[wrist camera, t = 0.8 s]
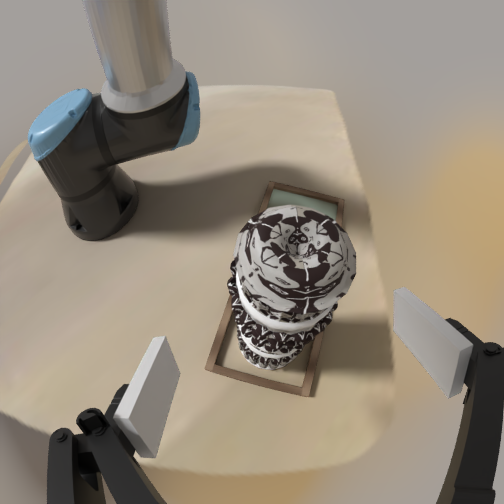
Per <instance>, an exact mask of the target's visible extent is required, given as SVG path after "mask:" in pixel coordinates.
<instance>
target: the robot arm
mask: <svg viewBox="0 0 504 504" xmlns="http://www.w3.org/2000/svg"><path fill="white" fill-rule="evenodd" d="M82 1H83V5H84V9H85V12H86V16H87V19H88V23H89V26H90V29H91V33H92V36H93V39H94V42H95V45H96V48H97V51H98V54H99V57H100V60H101V63H102V66H103V69H104V72H105V75H106V78H107V80H106V81H105V83H104V85H103V87H102V91H101V94H100V95H97V96H94V97H92V93H91V92H90V91H89V90H88V89H83V88H82V89H77V90H74V91H71V92H69V93H67V94H65V95H63V96H61V97H60V98H58V99H57V100H55V101H54V102H53V103H51V104H50V105H49V106H48V107H47V108H46V109H45V110H44V111H42V112H41V114H40V115H39V116H38V117H37V118H36V120H35V121H34V122H33V124H32V126H31V128H30V130H29V133H28V143H29V145H30V147H31V149H32V152H33V154H34V158H35V160H36V161H38V163H39V165H40V166H41V168H42V170H43V171H44V173H45V175H46V176H47V178H48V179H49V181H50V183H51V184H52V186H53V187H54V189H55V190H56V192H57V193H58V195H59V197H60V198H61V202H62V207H63V212H64V216H65V220H66V223H67V225H68V226H69V228H70V229H71V231H72V232H73V233H74V234H75V235H76V236H77V237H79V238H81V239H84V240H99V239H102V238H105V237H108V236H110V235H112V234H114V233H115V232H117V231H118V230H120V229H121V228H122V227H123V226H124V225H125V224H126V223H127V222H128V221H129V220H130V218H131V217H132V216H133V214H134V212H135V210H136V207H137V204H138V192H137V189H136V187H135V184H134V182H133V181H132V179H131V178H130V177H129V176H128V175H127V174H126V173H125V172H124V171H123V170H122V169H121V168H120V167H119V166H118V165H117V164H119V163H123V162H126V161H130V160H134V159H137V158H141V157H145V156H149V155H153V154H157V153H161V152H165V151H170V150H171V151H172V150H175V149H176V148H178V147H182V146H185V145H189V144H191V143H192V142H194V141H195V139H196V138H197V136H198V133H199V128H200V108H199V103H200V98H199V90H198V85H197V81H196V78H195V76H194V74H193V73H191V72H186V71H185V69H184V67H183V65H182V64H181V63H180V62H178V61H177V60H175V59H173V58H172V51H171V42H170V33H169V23H168V12H167V0H82ZM393 326H394V327H393V331H394V332H395V333H396V334H397V336H398V337H399V338H400V339H401V340H402V342H403V343H404V344H405V345H406V346H407V348H408V349H409V350H410V351H411V352H412V354H413V355H414V356H415V357H416V359H417V360H418V361H419V362H420V363H421V365H422V366H423V367H424V368H425V370H426V371H427V372H428V373H429V375H430V376H431V377H432V378H433V380H434V381H435V382H436V383H437V385H438V386H439V387H440V389H441V390H442V391H443V392H444V394H445V395H446V396H447V398H451V397H453V396H455V395H457V394H459V393H460V392H461V391H462V387H463V384H464V383H465V384H466V386H467V387H468V389H467V392H466V395H465V398H464V402H463V404H464V410H463V415H462V419H461V424H460V429H459V433H458V437H457V442H456V445H455V449H454V452H453V456H452V459H451V463H450V466H449V469H448V472H447V475H446V478H445V481H444V484H443V487H442V490H441V492H440V495H439V498H438V500H437V502H436V504H494V500H495V490H493V489H492V486H493V481H494V477H495V472H496V466H497V461H498V455H499V448H500V441H501V433H502V422H503V408H504V348H502V347H501V346H500V345H498V344H496V343H493V342H488V343H483V342H482V341H481V340H480V339H479V338H477V337H476V336H475V335H474V334H473V333H472V332H470V331H468V329H467V328H466V327H464V326H463V325H462V324H461V323H459V322H458V321H456V320H453V319H451V318H449V319H446V320H445V319H443V318H442V317H441V316H440V315H439V314H437V313H436V312H435V311H434V310H433V309H431V308H430V307H429V306H428V305H427V304H425V303H424V302H423V301H422V300H420V299H419V298H418V297H417V296H415V295H414V294H413V293H412V292H411V291H409V290H408V289H407V288H405V287H403V288H399V289H396V290H394V325H393ZM179 377H180V371H179V369H178V366H177V364H176V361H175V359H174V356H173V354H172V351H171V349H170V346H169V344H168V341H167V338H166V336H161V337H154V338H153V339H152V341H151V343H150V345H149V347H148V349H147V351H146V353H145V355H144V357H143V359H142V360H141V362H140V364H139V366H138V368H137V370H136V372H135V374H134V376H133V378H132V380H131V382H130V384H124V385H123V386H122V387H121V388H119V389H118V390H117V392H116V394H115V396H114V399H113V400H112V402H111V404H110V405H109V407H108V409H107V411H106V413H105V415H103V413H102V412H101V411H100V410H99V409H97V408H90V409H87V410H85V411H83V412H81V413H80V414H79V416H78V417H77V419H76V424H77V425H78V426H79V428H80V429H81V430H82V432H83V434H77V435H74V434H73V433H72V432H71V430H70V429H68V428H60V429H58V430H56V431H55V432H53V434H52V435H51V437H50V442H49V453H48V454H49V455H48V470H47V504H106V501H105V495H104V489H103V483H102V476H101V473H102V475H103V478H104V480H105V482H106V484H107V486H108V488H109V490H110V492H111V494H112V496H113V497H114V499H115V501H116V503H117V504H167V503H166V502H165V501H164V500H163V498H162V497H161V496H160V494H159V493H158V491H157V490H156V489H155V487H154V486H153V484H152V483H151V482H150V480H149V479H148V477H147V476H146V474H145V473H144V471H143V470H142V468H141V467H140V465H139V464H138V462H137V461H136V459H135V458H134V457H133V456H134V453H135V450H136V452H137V453H138V454H139V455H140V457H144V458H156V456H157V452H158V448H159V445H160V441H161V438H162V434H163V431H164V427H165V424H166V420H167V417H168V413H169V410H170V407H171V403H172V400H173V397H174V393H175V390H176V387H177V383H178V380H179Z"/></svg>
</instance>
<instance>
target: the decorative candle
mask: <svg viewBox="0 0 504 504" xmlns="http://www.w3.org/2000/svg"><path fill="white" fill-rule="evenodd" d="M233 255H234V259H235V260H234V261H232V263H231V267H230V269H231V272H232V275H233V277H231V278H230V279H229V280H228V282H227V286H228V289H229V293H230V295H231V296H233V297H232V299H231V307H232V310H233V312H234V313H235V322H236V323H237V336H238V337H237V338H238V341H239V348H240V350H241V353H242V354H243V356H244V357H245V358H246V360H247V361H248V362H249V363H251V364H252V365H254V366H256V367H257V368H260V369H267V370H273V369H278V368H282V367H284V366H286V365H287V364H288V363H289V362H291V361H292V360H294V359H295V358H296V357H297V356H298V354H299V353H300V352H301V351H302V349H303V347H304V345H305V344H307V343H309V342H310V341H312V340H313V339H314V337H315V336H316V335H318V334H319V333H320V332H322V331H324V329H325V327H326V325H328V324H330V322H331V321H332V311H335V310H336V309H337V306H338V303H337V301H338V300H339V299H340V298H342V297H343V296H344V295H345V294H346V293H347V292H348V290H349V288H350V286H351V283H352V281H353V279H354V277H355V275H356V252H355V250H354V247H353V245H352V243H351V241H350V238H349V236H348V234H347V233H346V232H345V231H344V230H343V229H342V227H341V226H340V225H339V224H338V223H337V222H336V221H335V220H334V219H333V218H331V217H329V216H327V215H325V214H323V213H321V212H319V211H317V210H315V209H313V208H309V207H303V206H297V205H285V206H278V207H272V208H268V209H266V210H265V211H263V212H261V213H259V214H257V215H256V216H254V217H252V218H251V219H250V220H249V221H248V222H247V224H246V225H245V226H244V227H243V229H242V230H241V231H240V232H239V234H238V237H237V241H236V246H235V250H234V254H233Z"/></svg>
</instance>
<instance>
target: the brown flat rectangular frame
mask: <svg viewBox="0 0 504 504" xmlns="http://www.w3.org/2000/svg"><path fill="white" fill-rule="evenodd" d="M285 205H297V206H303V207H309V208H313V209H315V210H317V211H319V212H321V213H323V214H325V215H327V216H329V217H331V218H333V219H334V220H335V221H336V222H337V223H338V224H339V225H340V226H341V224H342V216H343V208H344V200H343V199H340V198H336V197H332V196H329V195H325V194H321V193H317V192H313V191H309V190H305V189H301V188H297V187H293V186H289V185H285V184H280V183H276V182H272V181H270V182H269V184H268V187H267V190H266V193H265V196H264V199H263V201H262V204H261V207H260V210H259V213H261V212H263V211H265V210H266V209H268V208H272V207H278V206H285ZM259 213H258V214H259ZM232 297H233V296H231V295H230V296H229V299H228V302H227V305H226V308H225V310H224V313H223V316H222V319H221V322H220V325H219V328H218V331H217V334H216V337H215V340H214V342H213V345H212V348H211V351H210V354H209V357H208V360H207V363H206V366H205V370H208V371H211V372H214V373H217V374H220V375H224V376H227V377H230V378H234V379H237V380H240V381H244V382H248V383H251V384H255V385H259V386H262V387H266V388H270V389H274V390H278V391H282V392H287V393H291V394H295V395H300V396H305V397H309V393H310V389H311V385H312V381H313V377H314V373H315V369H316V365H317V360H318V356H319V352H320V347H321V342H322V338H323V333H324V331H322V332H320V333H319V334H318V335H316V336H315V337H314V340H313V345H312V349H311V353H310V358H309V362H308V366H307V370H306V374H305V378H304V382H303V386H302V388H301V387H297V386H292V385H288V384H284V383H280V382H275V381H272V380H268V379H264V378H260V377H256V376H253V375H249V374H245V373H242V372H238V371H235V370H232V369H228V368H225V367H222V366H218V365H215V363H216V360H217V357H218V354H219V351H220V348H221V345H222V342H223V339H224V336H225V333H226V330H227V327H228V324H229V321H230V318H231V315H232V312H233V310H232V307H231V299H232Z"/></svg>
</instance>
